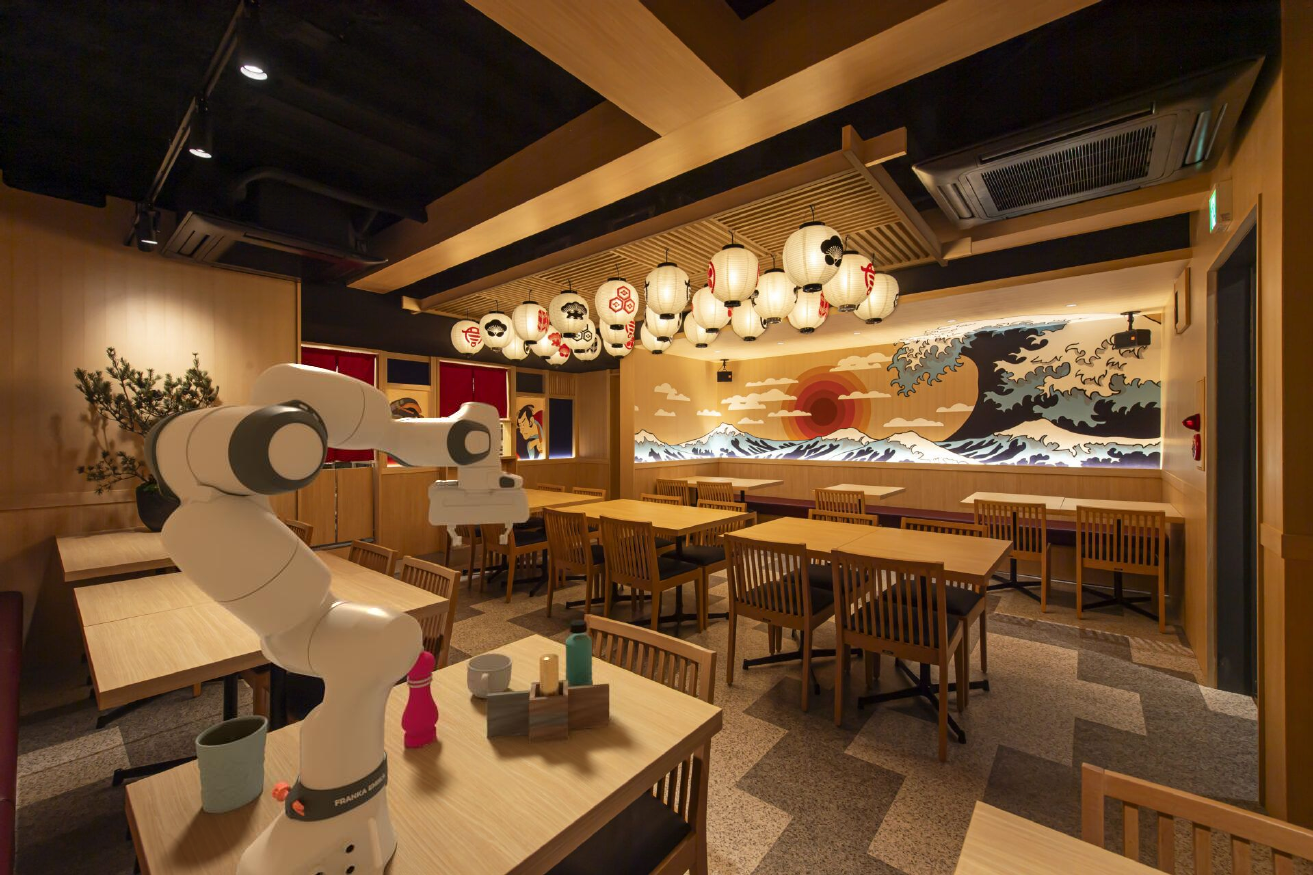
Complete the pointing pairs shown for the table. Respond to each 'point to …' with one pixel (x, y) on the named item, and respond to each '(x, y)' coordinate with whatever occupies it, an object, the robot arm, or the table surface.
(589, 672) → the beverage bottle
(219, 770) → the green oval vase
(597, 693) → the brown winged open box
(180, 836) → the table surface
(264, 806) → the table surface
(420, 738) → the pepper mill
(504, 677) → the teacup
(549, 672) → the brass pin
